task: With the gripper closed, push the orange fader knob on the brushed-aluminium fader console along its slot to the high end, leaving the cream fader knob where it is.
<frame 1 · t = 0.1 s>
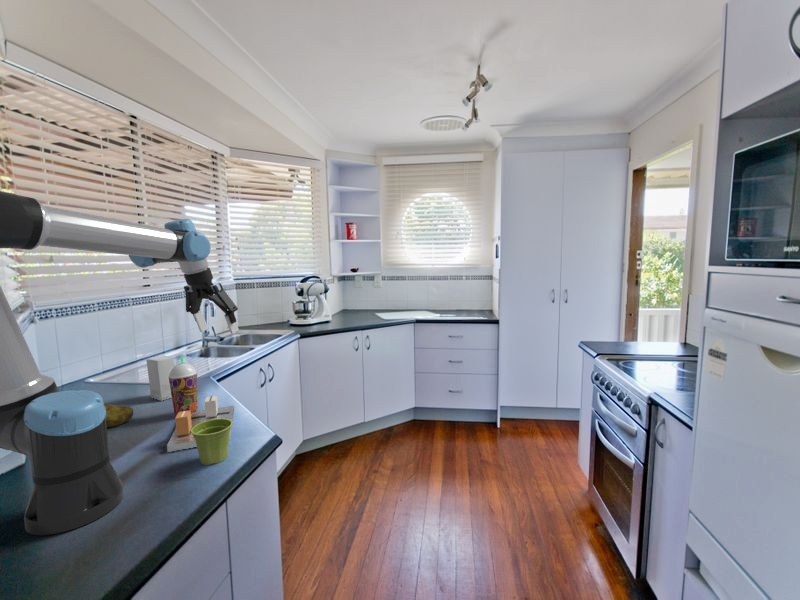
hand: (219, 331, 123), 28 cm above the worktop, tool tilted 20°, fingers open, 13 cm apart
console: (205, 429, 112), on the worktop
plant pot: (214, 459, 94), on the worktop
smoothie: (186, 414, 125), on the worktop
skincare box: (164, 397, 143), on the worktop
potato: (109, 426, 117), on the worktop
fader far: (211, 406, 118), point 5 cm above the worktop, slide at 6.0 cm
fader near: (183, 422, 106), point 5 cm above the worktop, slide at 0.0 cm
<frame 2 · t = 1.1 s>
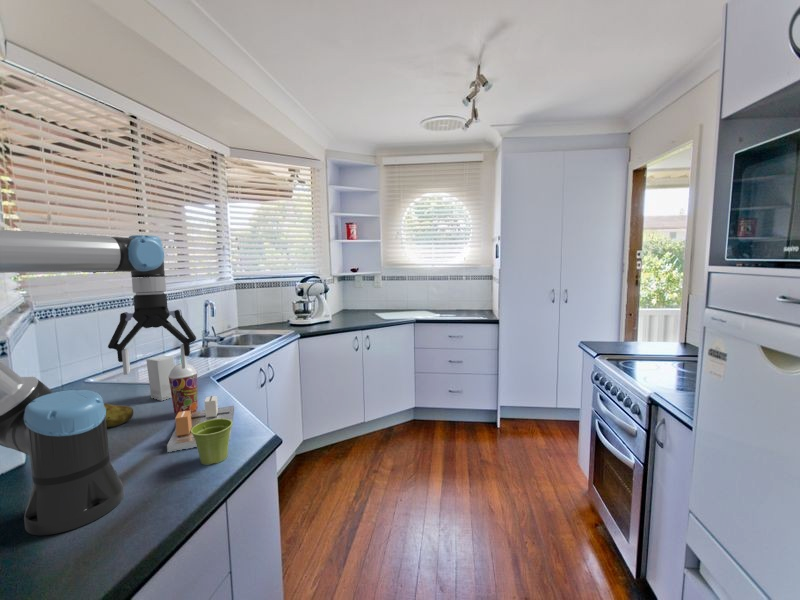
hand: (156, 370, 103), 21 cm above the worktop, tool pointing down, fingers open, 13 cm apart
nothing on the worktop moved.
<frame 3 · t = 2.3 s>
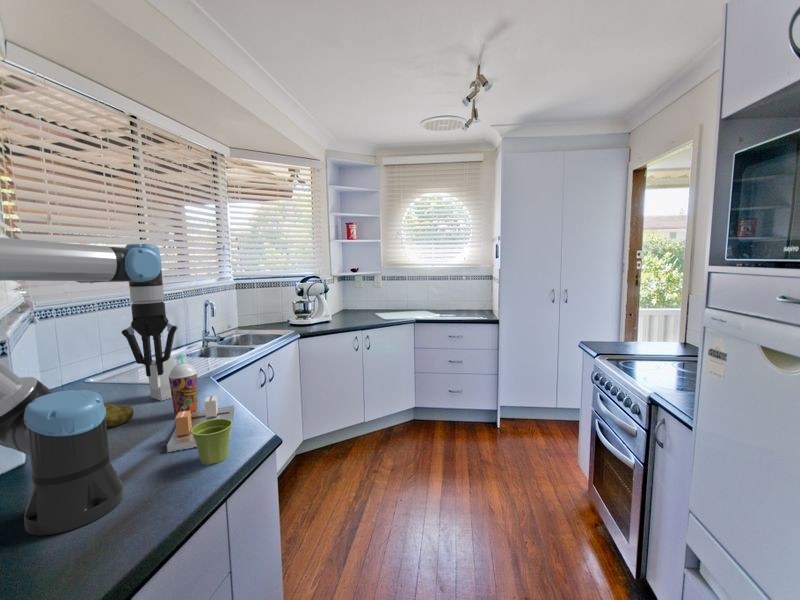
hand: (156, 387, 103), 16 cm above the worktop, tool pointing down, fingers closed
nothing on the worktop moved.
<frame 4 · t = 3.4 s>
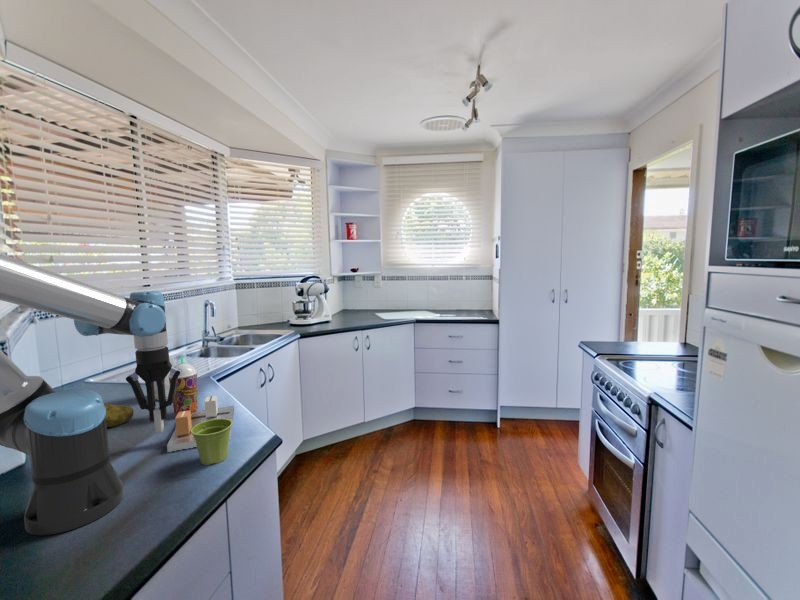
hand: (159, 431, 104), 4 cm above the worktop, tool pointing down, fingers closed
nothing on the worktop moved.
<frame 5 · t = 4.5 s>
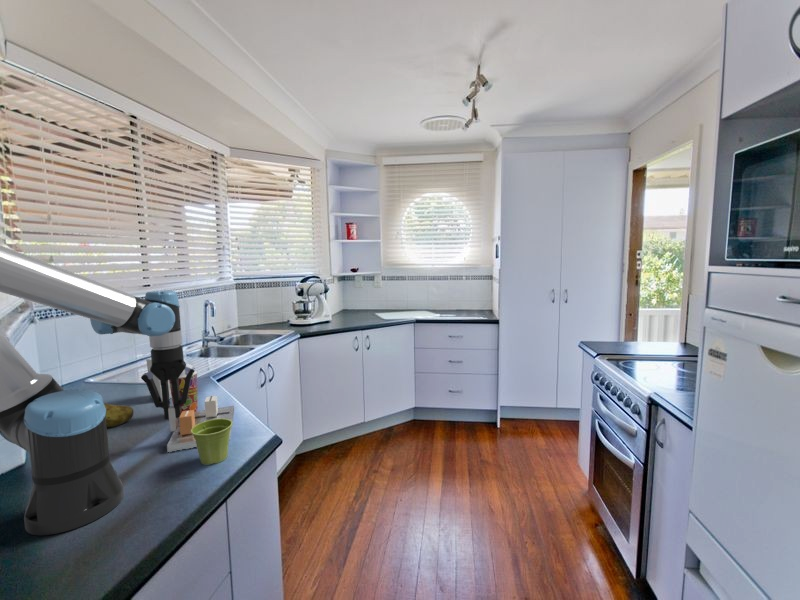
hand: (174, 429, 105), 3 cm above the worktop, tool pointing down, fingers closed
fader near: (187, 422, 106), point 5 cm above the worktop, slide at 0.9 cm, touching gripper
everything else where it was.
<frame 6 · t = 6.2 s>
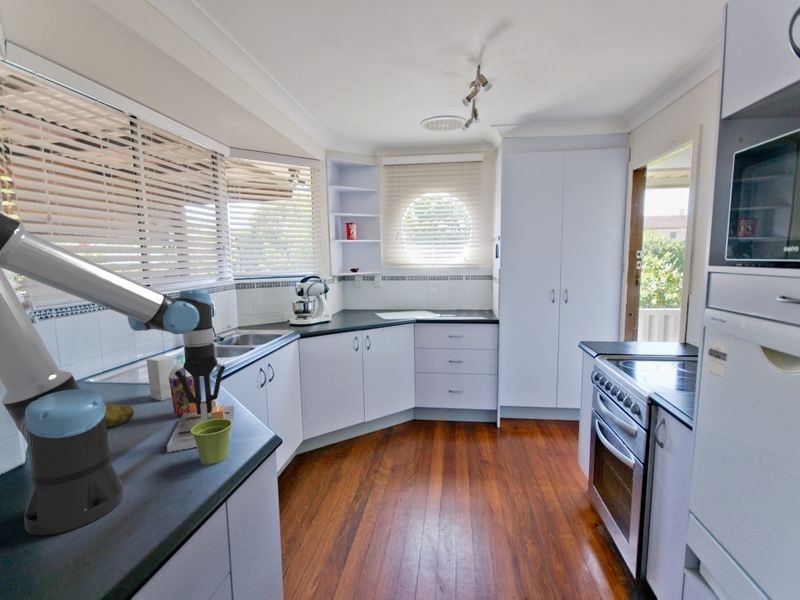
hand: (205, 424, 108), 3 cm above the worktop, tool pointing down, fingers closed
fader near: (218, 417, 109), point 5 cm above the worktop, slide at 8.9 cm, touching gripper
everything else where it was.
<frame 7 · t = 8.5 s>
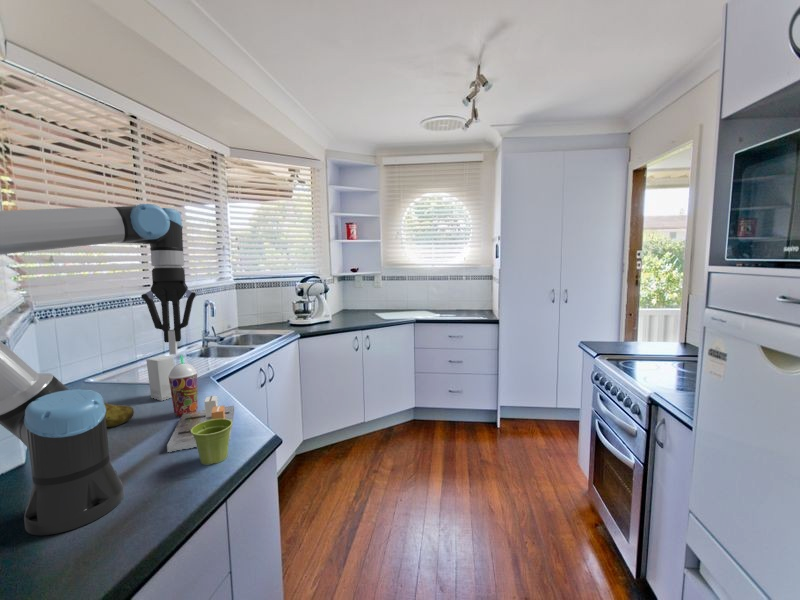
hand: (173, 353, 102), 25 cm above the worktop, tool pointing down, fingers closed
fader near: (218, 417, 109), point 5 cm above the worktop, slide at 9.0 cm
everything else where it was.
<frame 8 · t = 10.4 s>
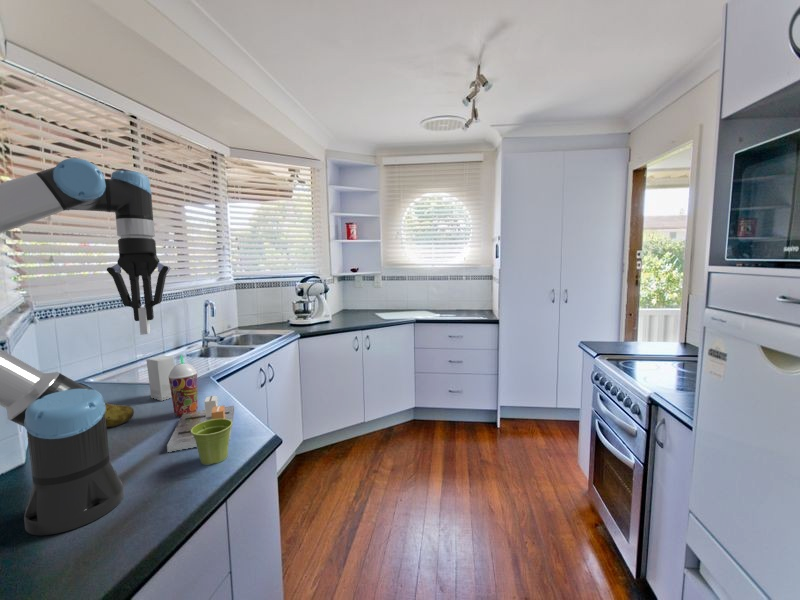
hand: (145, 333, 93), 32 cm above the worktop, tool pointing down, fingers closed
nothing on the worktop moved.
at the end: fader near slide at 9.0 cm; fader far slide at 6.0 cm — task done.
